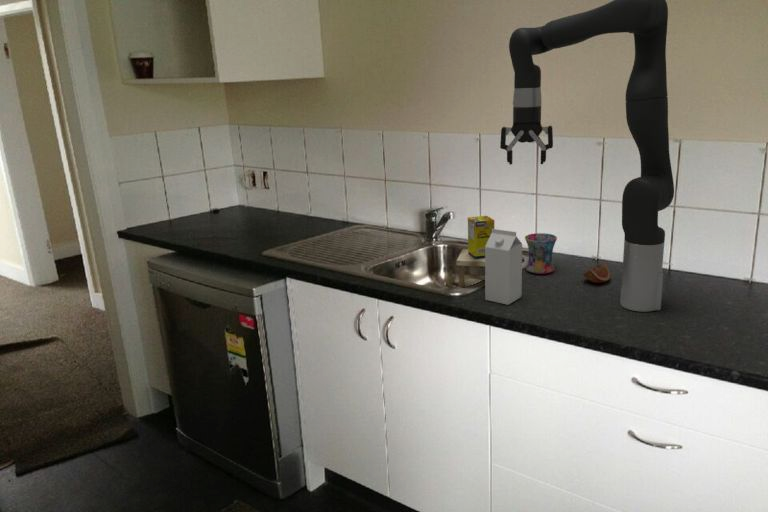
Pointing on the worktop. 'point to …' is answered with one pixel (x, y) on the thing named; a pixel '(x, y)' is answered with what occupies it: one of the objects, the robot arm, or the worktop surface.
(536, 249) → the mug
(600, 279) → the fruit slice
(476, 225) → the supplement box
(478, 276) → the stool
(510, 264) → the white milk carton
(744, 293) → the worktop surface
